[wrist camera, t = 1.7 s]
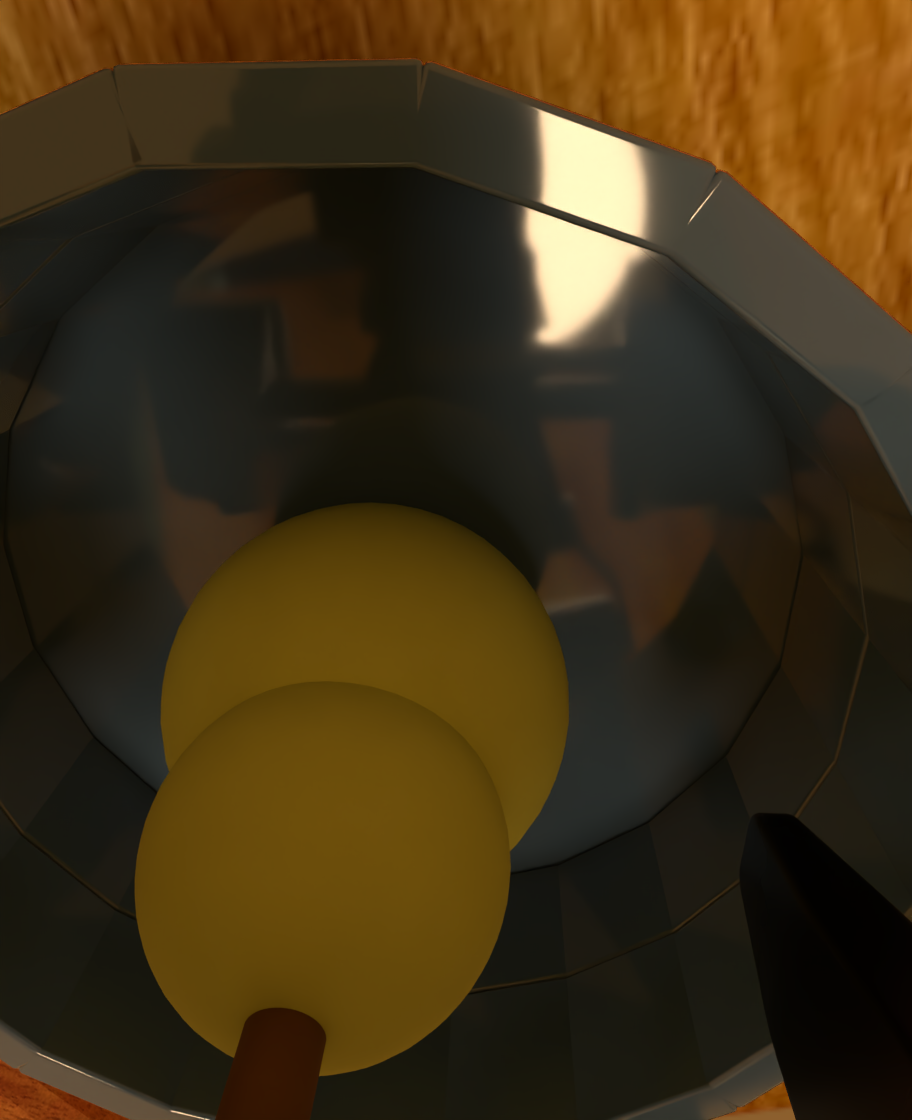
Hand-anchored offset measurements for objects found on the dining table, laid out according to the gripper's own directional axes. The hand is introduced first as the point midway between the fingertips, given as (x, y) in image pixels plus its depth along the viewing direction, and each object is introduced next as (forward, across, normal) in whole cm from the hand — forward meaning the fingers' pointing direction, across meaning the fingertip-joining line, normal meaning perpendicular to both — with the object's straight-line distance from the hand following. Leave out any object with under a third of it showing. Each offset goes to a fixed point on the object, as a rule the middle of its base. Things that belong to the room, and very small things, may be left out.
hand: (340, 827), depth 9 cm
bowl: (+6, 0, 0) cm, 6 cm away
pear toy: (+5, 0, 0) cm, 5 cm away
